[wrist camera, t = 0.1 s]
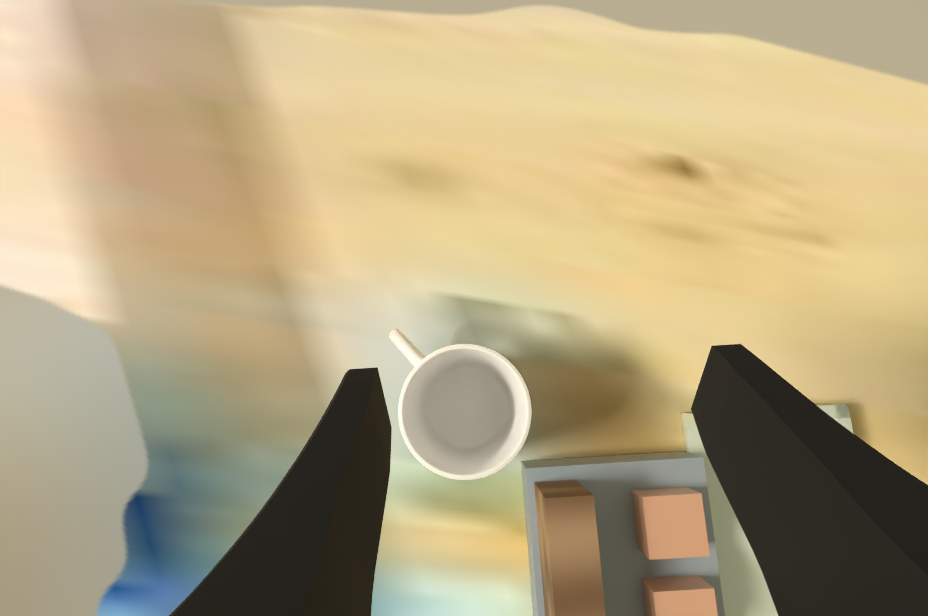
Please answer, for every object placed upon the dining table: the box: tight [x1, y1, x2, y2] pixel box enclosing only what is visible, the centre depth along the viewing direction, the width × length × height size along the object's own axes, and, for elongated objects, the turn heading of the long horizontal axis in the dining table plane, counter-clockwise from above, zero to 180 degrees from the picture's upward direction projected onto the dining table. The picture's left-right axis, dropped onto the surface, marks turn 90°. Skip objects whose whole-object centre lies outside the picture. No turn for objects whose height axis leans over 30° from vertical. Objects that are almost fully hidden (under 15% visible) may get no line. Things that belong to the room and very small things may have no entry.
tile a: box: [641, 575, 718, 616], centre depth 35 cm, size 4×4×2 cm
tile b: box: [631, 487, 710, 560], centre depth 36 cm, size 4×4×2 cm
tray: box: [681, 404, 853, 616], centre depth 39 cm, size 20×12×2 cm, turn 4°
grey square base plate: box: [521, 451, 725, 616], centre depth 39 cm, size 14×13×4 cm
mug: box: [389, 329, 532, 480], centre depth 37 cm, size 12×8×12 cm
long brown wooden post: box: [534, 480, 606, 616], centre depth 34 cm, size 12×3×6 cm, turn 4°
